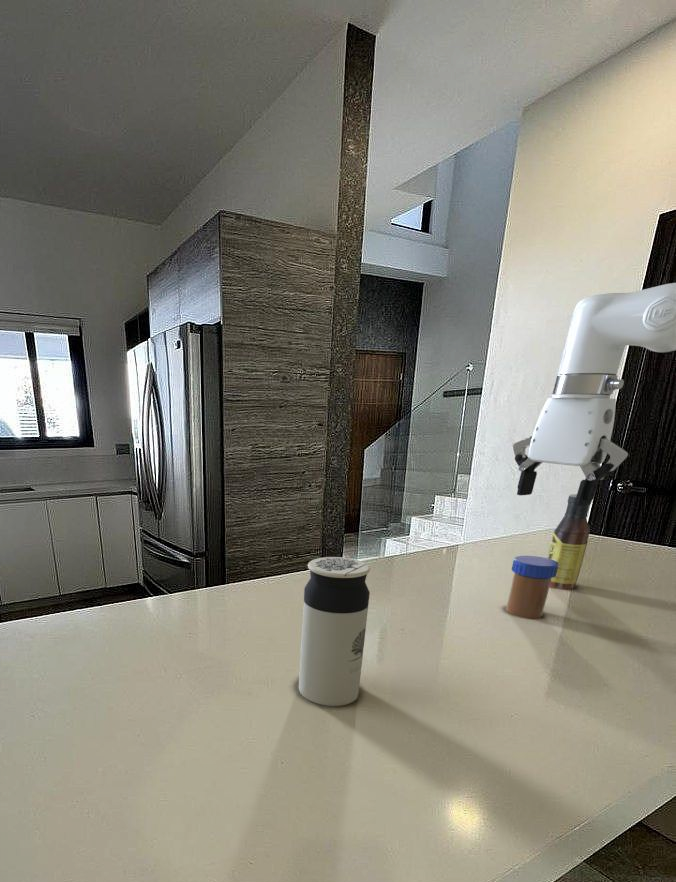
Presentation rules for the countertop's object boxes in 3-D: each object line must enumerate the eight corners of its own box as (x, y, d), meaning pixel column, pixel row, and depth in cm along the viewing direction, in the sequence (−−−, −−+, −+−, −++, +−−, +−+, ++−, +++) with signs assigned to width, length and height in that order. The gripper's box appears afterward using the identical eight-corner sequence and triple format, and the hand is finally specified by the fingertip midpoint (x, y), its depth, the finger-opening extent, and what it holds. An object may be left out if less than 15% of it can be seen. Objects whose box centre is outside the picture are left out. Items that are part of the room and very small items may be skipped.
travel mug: (286, 689, 66) (292, 563, 59) (323, 671, 70) (333, 552, 64) (333, 715, 60) (345, 579, 53) (370, 693, 65) (385, 565, 58)
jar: (531, 608, 93) (543, 559, 90) (548, 620, 88) (562, 568, 84) (499, 608, 93) (510, 558, 90) (515, 620, 88) (527, 567, 84)
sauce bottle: (547, 579, 109) (569, 491, 102) (579, 586, 105) (604, 495, 98) (536, 586, 105) (558, 494, 98) (569, 593, 101) (594, 498, 94)
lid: (542, 567, 91) (544, 555, 90) (564, 579, 84) (567, 566, 83) (504, 567, 91) (506, 555, 90) (523, 578, 85) (526, 566, 84)
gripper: (661, 388, 68) (621, 508, 75) (542, 390, 83) (517, 490, 89) (633, 386, 65) (593, 511, 72) (514, 388, 80) (490, 492, 86)
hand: (551, 499), depth 80 cm, fingers open, 9 cm apart
